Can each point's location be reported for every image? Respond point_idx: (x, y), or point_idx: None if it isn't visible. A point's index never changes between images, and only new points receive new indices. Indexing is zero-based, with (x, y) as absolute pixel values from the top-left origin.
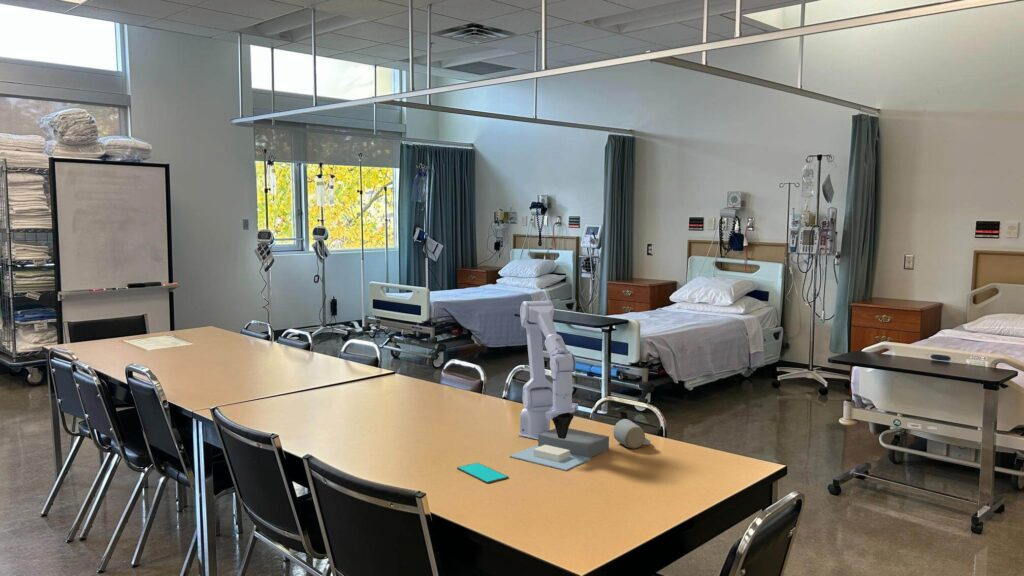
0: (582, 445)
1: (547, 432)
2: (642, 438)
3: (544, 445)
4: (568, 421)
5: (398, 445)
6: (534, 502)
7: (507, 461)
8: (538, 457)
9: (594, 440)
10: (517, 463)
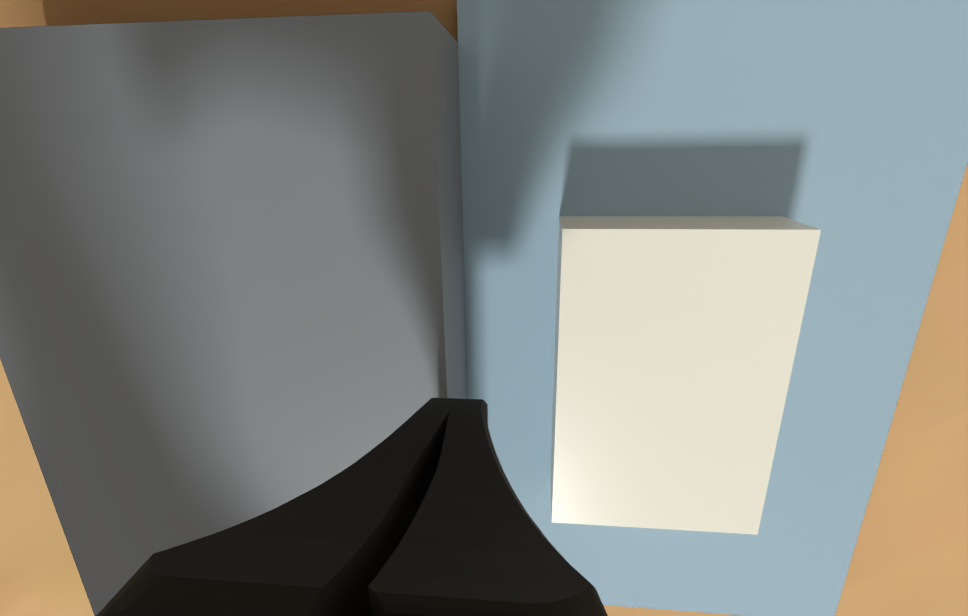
0: (438, 118)
1: None
2: None
3: (581, 513)
4: (374, 532)
5: None
6: None
7: (943, 577)
8: None
9: (174, 86)
10: (961, 497)
